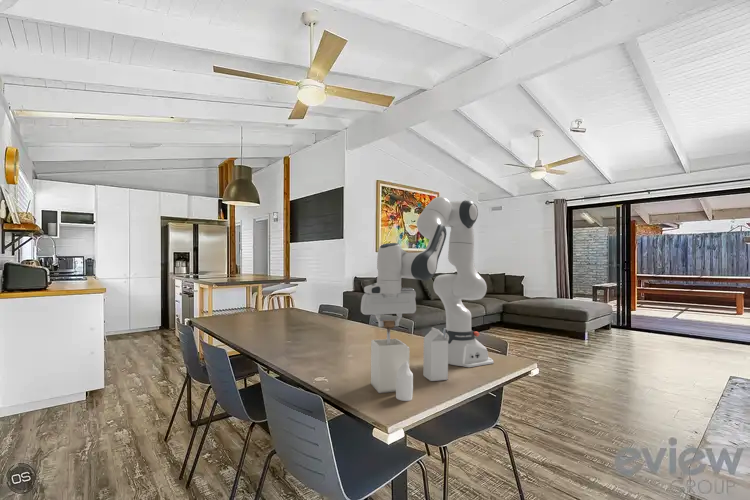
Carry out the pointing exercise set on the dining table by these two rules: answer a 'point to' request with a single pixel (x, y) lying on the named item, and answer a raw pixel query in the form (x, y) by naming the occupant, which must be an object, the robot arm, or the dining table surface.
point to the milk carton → (435, 356)
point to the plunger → (388, 328)
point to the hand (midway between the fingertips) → (388, 326)
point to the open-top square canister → (387, 363)
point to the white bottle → (404, 383)
